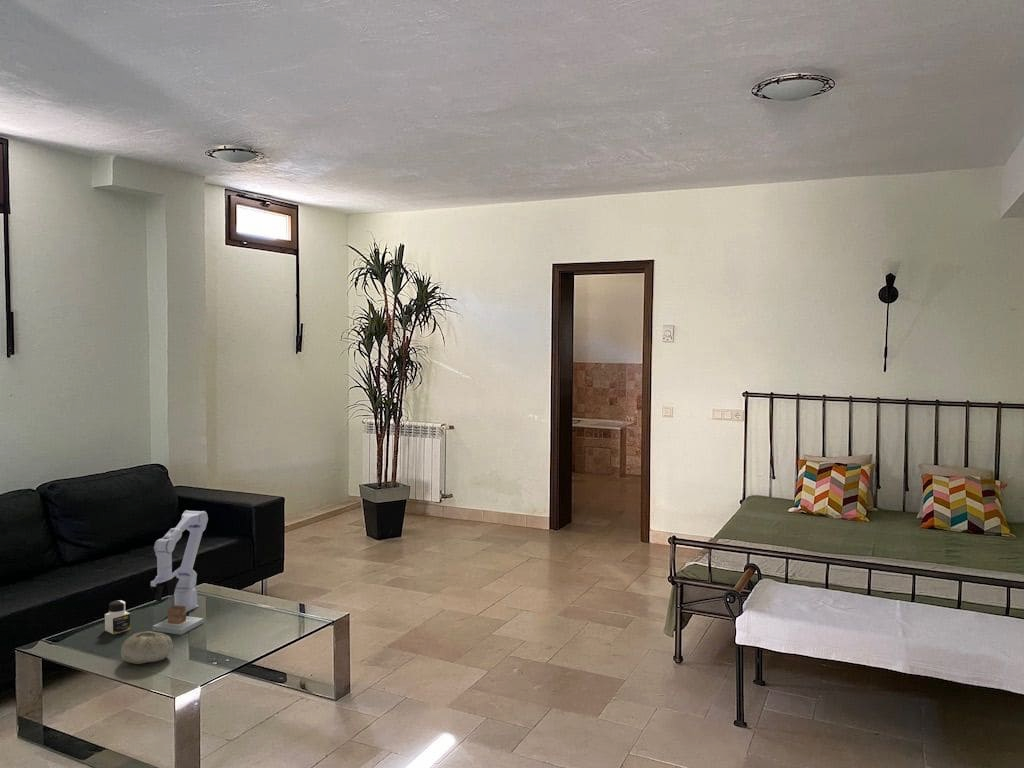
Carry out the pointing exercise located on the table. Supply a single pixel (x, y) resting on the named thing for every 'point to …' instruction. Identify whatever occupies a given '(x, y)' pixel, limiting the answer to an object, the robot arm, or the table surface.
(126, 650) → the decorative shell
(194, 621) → the base board
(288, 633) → the table surface
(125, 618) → the medicine bottle
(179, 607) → the walnut block
